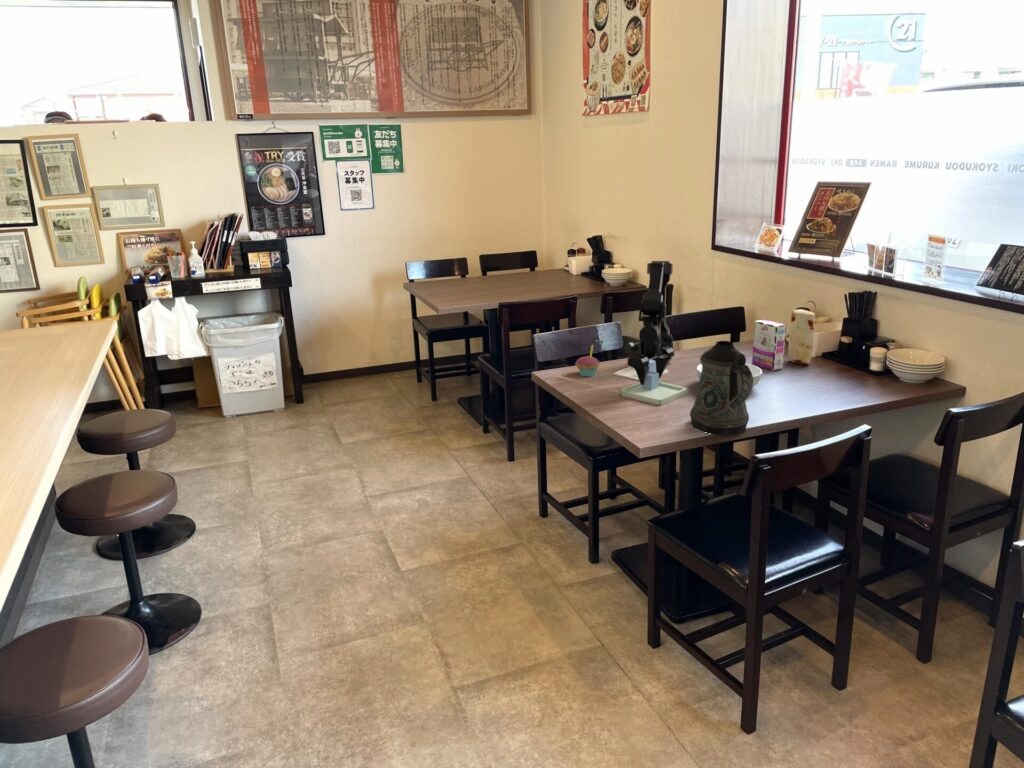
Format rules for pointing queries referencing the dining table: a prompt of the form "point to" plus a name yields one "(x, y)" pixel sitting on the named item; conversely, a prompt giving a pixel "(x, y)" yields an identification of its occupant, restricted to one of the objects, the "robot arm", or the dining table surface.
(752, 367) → the serving bowl
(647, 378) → the block
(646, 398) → the tray
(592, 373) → the cupcake
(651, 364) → the block
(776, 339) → the candy bar box
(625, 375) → the dish
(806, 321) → the food model
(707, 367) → the beer stein
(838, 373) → the dining table surface
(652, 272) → the robot arm
